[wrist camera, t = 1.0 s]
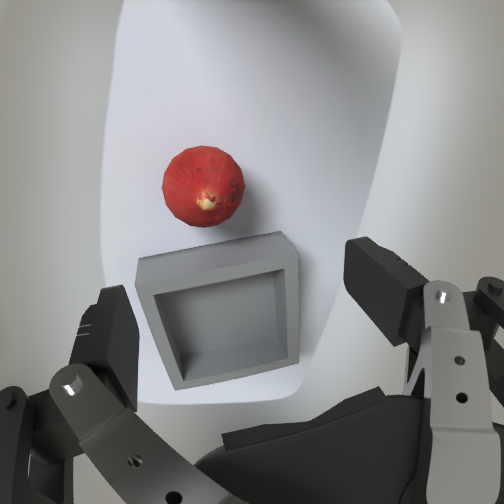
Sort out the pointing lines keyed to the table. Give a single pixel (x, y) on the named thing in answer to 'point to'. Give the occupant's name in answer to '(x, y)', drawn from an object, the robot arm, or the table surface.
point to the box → (223, 308)
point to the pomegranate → (203, 186)
